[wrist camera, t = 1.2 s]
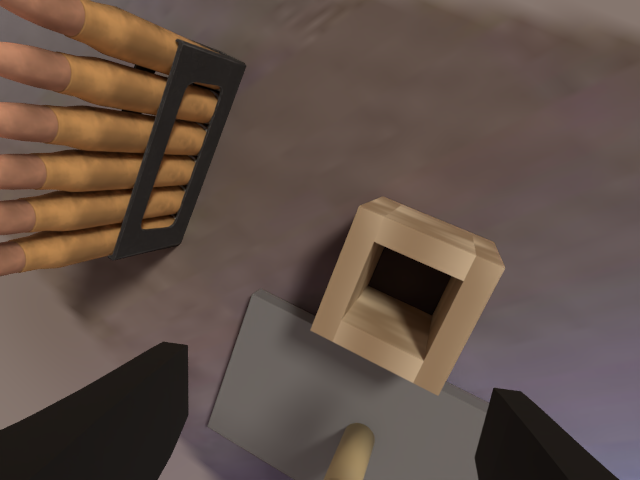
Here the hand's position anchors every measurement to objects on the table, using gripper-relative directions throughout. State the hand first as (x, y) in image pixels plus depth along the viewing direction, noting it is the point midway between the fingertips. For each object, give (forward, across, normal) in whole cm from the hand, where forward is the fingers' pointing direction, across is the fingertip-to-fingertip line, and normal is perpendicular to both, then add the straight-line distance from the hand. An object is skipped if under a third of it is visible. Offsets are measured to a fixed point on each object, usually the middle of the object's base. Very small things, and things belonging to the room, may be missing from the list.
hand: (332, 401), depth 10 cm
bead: (+11, -3, +1) cm, 11 cm away
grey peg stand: (+10, -2, +10) cm, 14 cm away
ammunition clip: (+14, +9, -3) cm, 17 cm away
